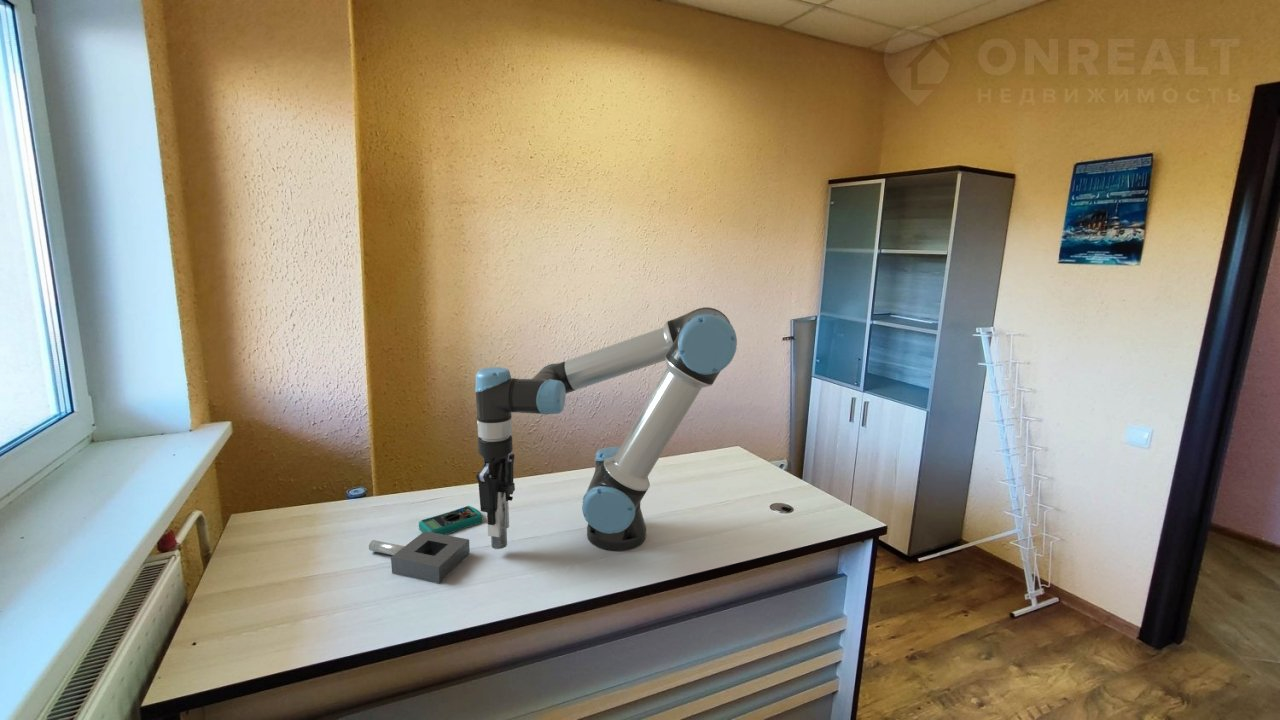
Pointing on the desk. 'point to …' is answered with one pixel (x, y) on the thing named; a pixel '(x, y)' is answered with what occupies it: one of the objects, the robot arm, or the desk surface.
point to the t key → (502, 514)
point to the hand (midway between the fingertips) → (498, 530)
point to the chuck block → (425, 556)
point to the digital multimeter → (451, 521)
